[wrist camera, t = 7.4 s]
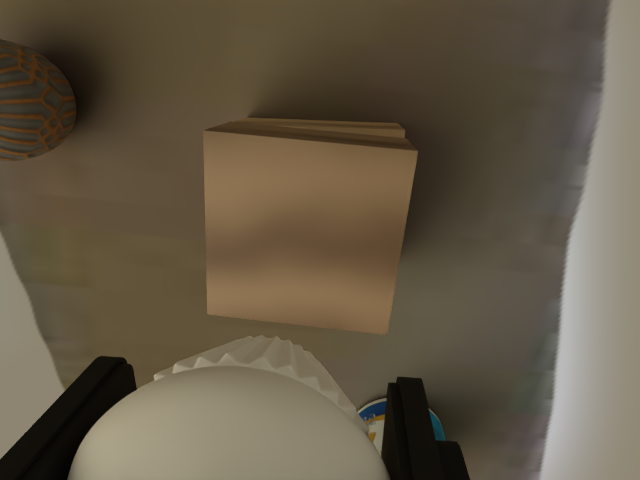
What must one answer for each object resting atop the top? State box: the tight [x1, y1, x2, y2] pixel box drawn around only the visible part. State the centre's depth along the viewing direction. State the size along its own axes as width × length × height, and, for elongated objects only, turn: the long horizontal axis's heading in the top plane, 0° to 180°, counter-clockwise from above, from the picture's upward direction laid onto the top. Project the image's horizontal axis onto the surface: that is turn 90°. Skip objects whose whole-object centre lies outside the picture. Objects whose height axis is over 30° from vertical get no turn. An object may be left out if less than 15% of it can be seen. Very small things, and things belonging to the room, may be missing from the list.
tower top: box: [203, 122, 418, 335], centre depth 23 cm, size 10×10×4 cm
